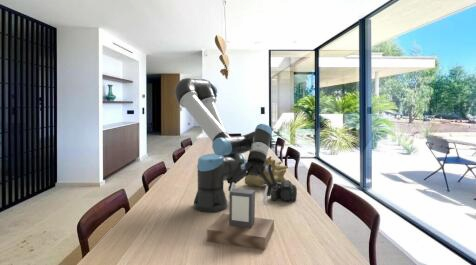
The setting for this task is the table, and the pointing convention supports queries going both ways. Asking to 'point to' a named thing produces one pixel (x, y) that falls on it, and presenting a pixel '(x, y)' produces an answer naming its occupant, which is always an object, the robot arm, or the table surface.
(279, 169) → the decorative coral
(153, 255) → the table surface
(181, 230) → the table surface
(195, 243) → the table surface
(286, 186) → the camera
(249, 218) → the tall slate rectangular prism
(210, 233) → the display block
